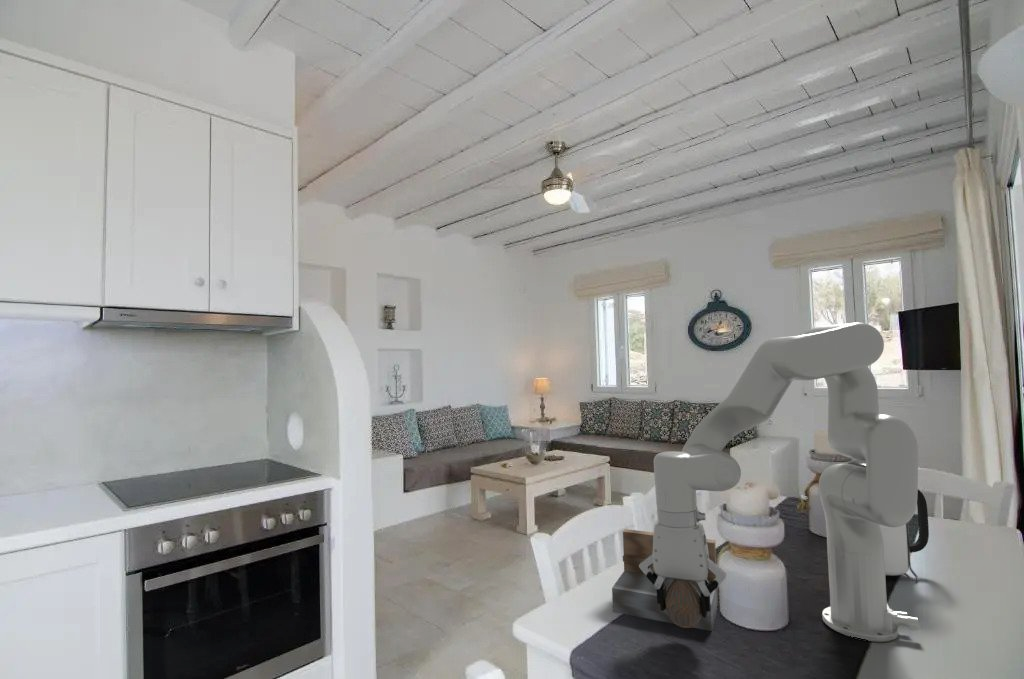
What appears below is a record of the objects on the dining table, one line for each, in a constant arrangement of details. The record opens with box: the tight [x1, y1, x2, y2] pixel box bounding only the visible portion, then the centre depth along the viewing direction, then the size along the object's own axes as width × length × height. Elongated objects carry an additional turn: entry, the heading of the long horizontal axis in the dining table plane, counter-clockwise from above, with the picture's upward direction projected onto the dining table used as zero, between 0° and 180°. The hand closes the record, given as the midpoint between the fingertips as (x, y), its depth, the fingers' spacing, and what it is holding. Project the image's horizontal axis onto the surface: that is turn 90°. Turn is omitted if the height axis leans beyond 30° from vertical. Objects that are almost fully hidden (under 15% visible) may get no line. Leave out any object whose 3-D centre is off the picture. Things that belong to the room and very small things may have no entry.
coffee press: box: [846, 459, 930, 582], centre depth 129 cm, size 17×16×30 cm
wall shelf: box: [611, 528, 719, 632], centre depth 112 cm, size 20×12×14 cm, turn 63°
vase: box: [665, 579, 702, 629], centre depth 99 cm, size 7×7×9 cm
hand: (684, 610), depth 99 cm, fingers closed on vase, 7 cm apart
